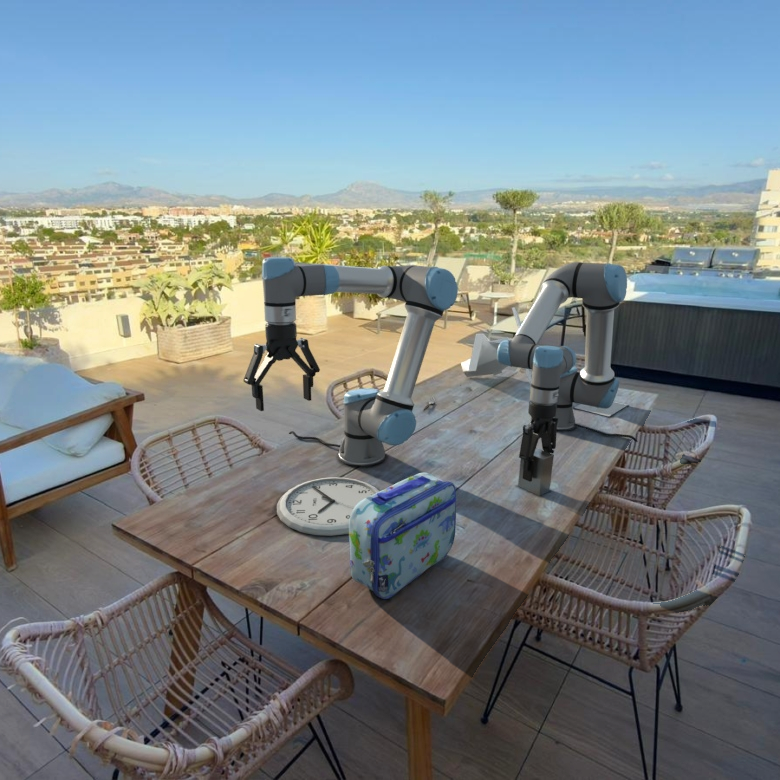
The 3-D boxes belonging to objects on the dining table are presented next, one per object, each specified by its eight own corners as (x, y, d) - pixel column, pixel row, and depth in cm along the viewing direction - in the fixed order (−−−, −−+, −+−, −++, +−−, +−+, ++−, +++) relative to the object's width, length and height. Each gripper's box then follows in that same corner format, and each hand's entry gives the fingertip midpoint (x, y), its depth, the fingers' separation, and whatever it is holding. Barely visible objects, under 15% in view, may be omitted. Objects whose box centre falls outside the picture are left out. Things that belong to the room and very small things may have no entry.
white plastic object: (482, 418, 266) (461, 395, 241) (463, 346, 288) (443, 318, 264) (553, 394, 254) (538, 368, 229) (528, 321, 276) (512, 289, 251)
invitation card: (608, 416, 214) (573, 407, 224) (608, 416, 214) (573, 408, 224) (628, 404, 229) (594, 396, 238) (628, 405, 229) (594, 397, 238)
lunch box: (377, 612, 103) (378, 518, 97) (342, 586, 111) (341, 497, 104) (459, 557, 121) (465, 475, 115) (425, 538, 128) (428, 460, 122)
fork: (420, 411, 216) (420, 406, 216) (430, 400, 230) (431, 395, 230) (426, 412, 215) (426, 407, 215) (436, 401, 230) (436, 396, 229)
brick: (517, 486, 155) (521, 450, 152) (528, 481, 158) (532, 446, 155) (539, 496, 150) (543, 459, 146) (549, 490, 153) (553, 454, 149)
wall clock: (392, 527, 129) (268, 531, 127) (391, 533, 130) (269, 537, 127) (383, 473, 158) (282, 475, 155) (383, 478, 158) (282, 480, 156)
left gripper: (238, 330, 118) (245, 418, 124) (331, 319, 133) (333, 398, 139) (225, 325, 123) (232, 410, 129) (316, 315, 138) (318, 392, 145)
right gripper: (533, 412, 137) (524, 491, 144) (575, 398, 149) (565, 471, 156) (510, 405, 143) (503, 481, 149) (552, 392, 155) (544, 462, 162)
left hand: (284, 404), depth 134 cm, fingers open, 13 cm apart
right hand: (535, 475), depth 153 cm, fingers open, 7 cm apart
